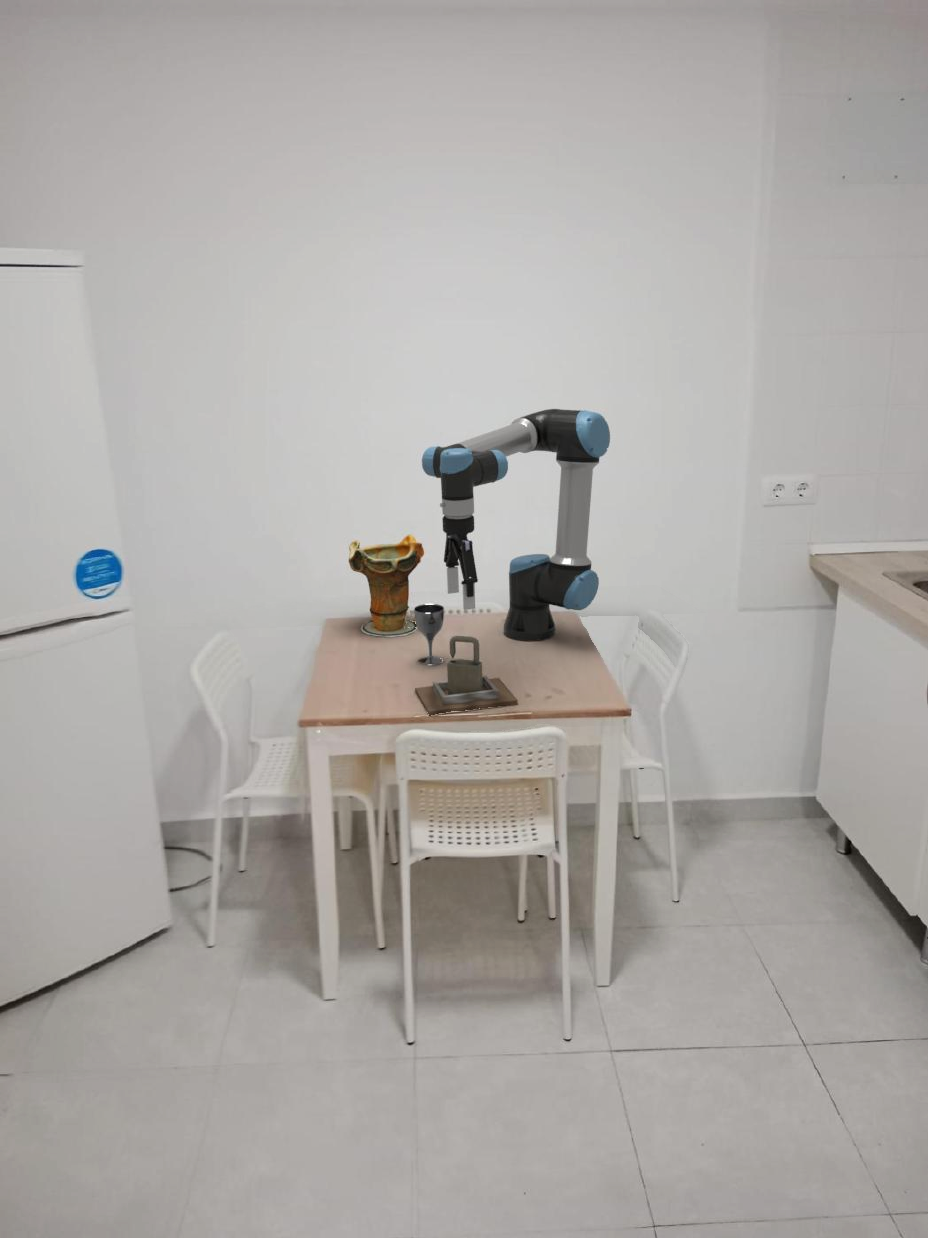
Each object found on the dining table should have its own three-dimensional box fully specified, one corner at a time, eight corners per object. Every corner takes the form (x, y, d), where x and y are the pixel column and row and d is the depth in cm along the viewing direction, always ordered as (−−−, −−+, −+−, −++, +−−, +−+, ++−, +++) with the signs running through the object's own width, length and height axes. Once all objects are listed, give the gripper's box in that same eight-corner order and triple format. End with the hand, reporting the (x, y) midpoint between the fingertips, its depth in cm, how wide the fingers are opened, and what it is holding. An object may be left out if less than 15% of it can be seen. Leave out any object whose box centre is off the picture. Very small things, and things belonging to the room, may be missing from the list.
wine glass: (441, 666, 252) (440, 613, 248) (413, 665, 254) (411, 612, 249) (448, 656, 260) (446, 604, 255) (420, 654, 261) (418, 603, 257)
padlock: (451, 689, 234) (450, 632, 229) (483, 692, 232) (482, 634, 227) (447, 695, 231) (445, 637, 226) (479, 698, 228) (478, 640, 224)
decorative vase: (339, 622, 288) (339, 532, 280) (410, 615, 297) (411, 528, 289) (360, 643, 270) (360, 548, 262) (435, 635, 279) (437, 542, 271)
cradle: (498, 682, 241) (498, 670, 240) (517, 704, 228) (517, 692, 227) (415, 692, 236) (414, 680, 235) (429, 716, 222) (428, 703, 221)
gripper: (429, 506, 233) (433, 588, 240) (457, 528, 210) (461, 618, 217) (458, 503, 235) (461, 584, 242) (489, 525, 212) (491, 614, 219)
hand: (461, 600), depth 230 cm, fingers open, 13 cm apart
